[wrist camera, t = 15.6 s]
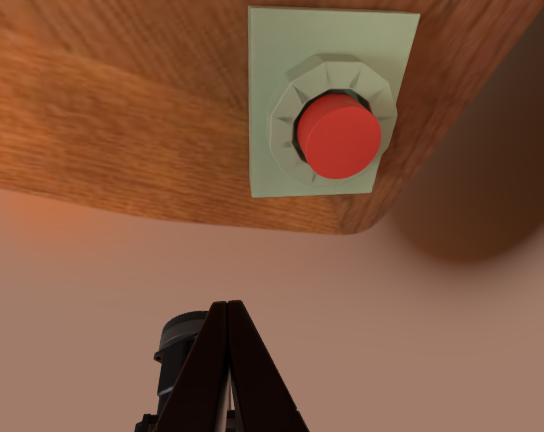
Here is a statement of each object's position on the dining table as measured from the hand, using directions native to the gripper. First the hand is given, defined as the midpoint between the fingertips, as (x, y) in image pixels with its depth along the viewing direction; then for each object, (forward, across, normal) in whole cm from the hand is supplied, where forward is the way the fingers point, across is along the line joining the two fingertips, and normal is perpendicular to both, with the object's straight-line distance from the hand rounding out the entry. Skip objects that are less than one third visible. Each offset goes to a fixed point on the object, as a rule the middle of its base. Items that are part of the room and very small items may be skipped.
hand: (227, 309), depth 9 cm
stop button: (+9, -5, -2) cm, 11 cm away
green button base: (+13, -6, -2) cm, 14 cm away
